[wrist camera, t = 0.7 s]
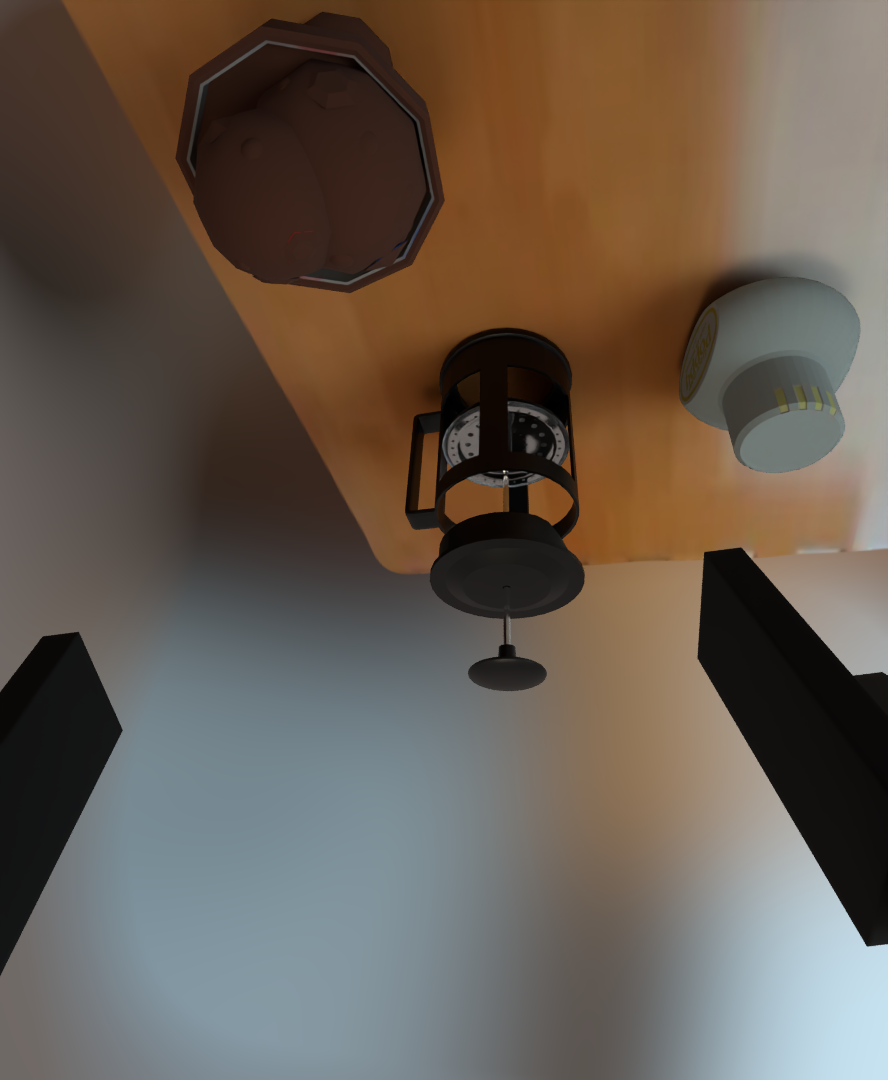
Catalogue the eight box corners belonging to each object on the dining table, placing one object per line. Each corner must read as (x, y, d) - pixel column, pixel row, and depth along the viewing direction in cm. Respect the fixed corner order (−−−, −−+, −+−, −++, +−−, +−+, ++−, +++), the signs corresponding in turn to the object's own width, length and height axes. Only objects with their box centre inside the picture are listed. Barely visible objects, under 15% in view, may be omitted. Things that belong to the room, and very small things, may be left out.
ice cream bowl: (279, 201, 40) (221, 385, 32) (188, -40, 31) (73, 127, 23) (464, 172, 38) (455, 359, 30) (423, -91, 29) (394, 69, 21)
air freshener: (720, 249, 42) (755, 365, 36) (860, 257, 42) (917, 374, 36) (665, 387, 51) (686, 497, 45) (780, 394, 51) (816, 505, 45)
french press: (574, 315, 46) (605, 634, 33) (586, 416, 53) (614, 709, 40) (401, 344, 48) (364, 651, 35) (435, 436, 56) (415, 718, 43)
